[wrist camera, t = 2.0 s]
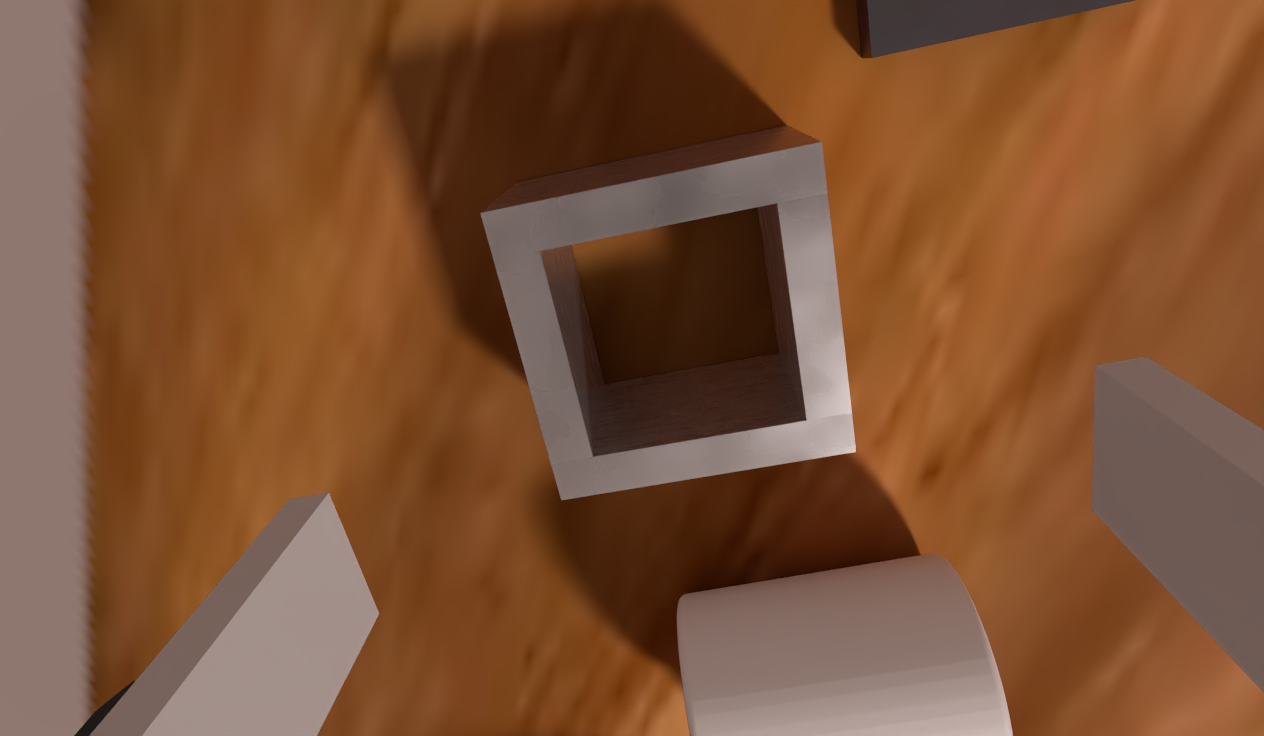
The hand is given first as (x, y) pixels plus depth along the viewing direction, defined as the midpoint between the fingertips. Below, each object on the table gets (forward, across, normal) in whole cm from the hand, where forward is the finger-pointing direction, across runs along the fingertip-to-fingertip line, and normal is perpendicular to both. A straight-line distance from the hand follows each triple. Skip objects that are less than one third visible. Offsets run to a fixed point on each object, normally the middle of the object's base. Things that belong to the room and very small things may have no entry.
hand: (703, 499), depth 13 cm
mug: (+14, +3, -17) cm, 23 cm away
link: (+14, 0, 0) cm, 14 cm away
